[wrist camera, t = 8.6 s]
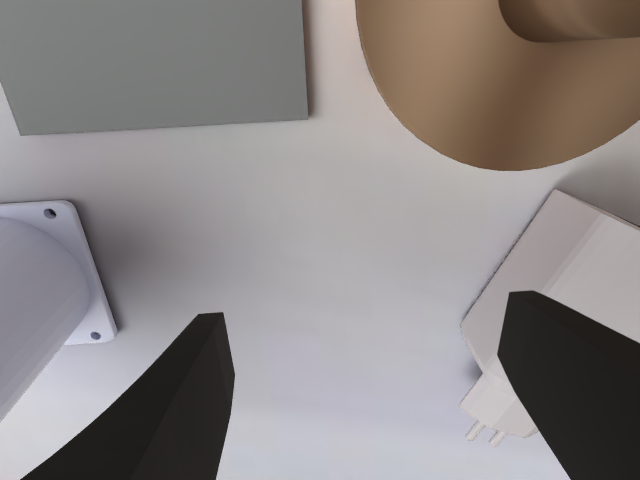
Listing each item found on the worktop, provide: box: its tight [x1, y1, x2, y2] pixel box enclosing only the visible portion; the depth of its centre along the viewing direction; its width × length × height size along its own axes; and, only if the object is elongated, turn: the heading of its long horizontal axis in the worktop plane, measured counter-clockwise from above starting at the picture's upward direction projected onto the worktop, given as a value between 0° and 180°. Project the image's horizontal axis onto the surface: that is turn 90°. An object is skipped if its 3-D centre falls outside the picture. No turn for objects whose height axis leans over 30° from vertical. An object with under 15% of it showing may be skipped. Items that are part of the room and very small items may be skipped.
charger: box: [459, 189, 640, 447], centre depth 21 cm, size 5×9×15 cm
